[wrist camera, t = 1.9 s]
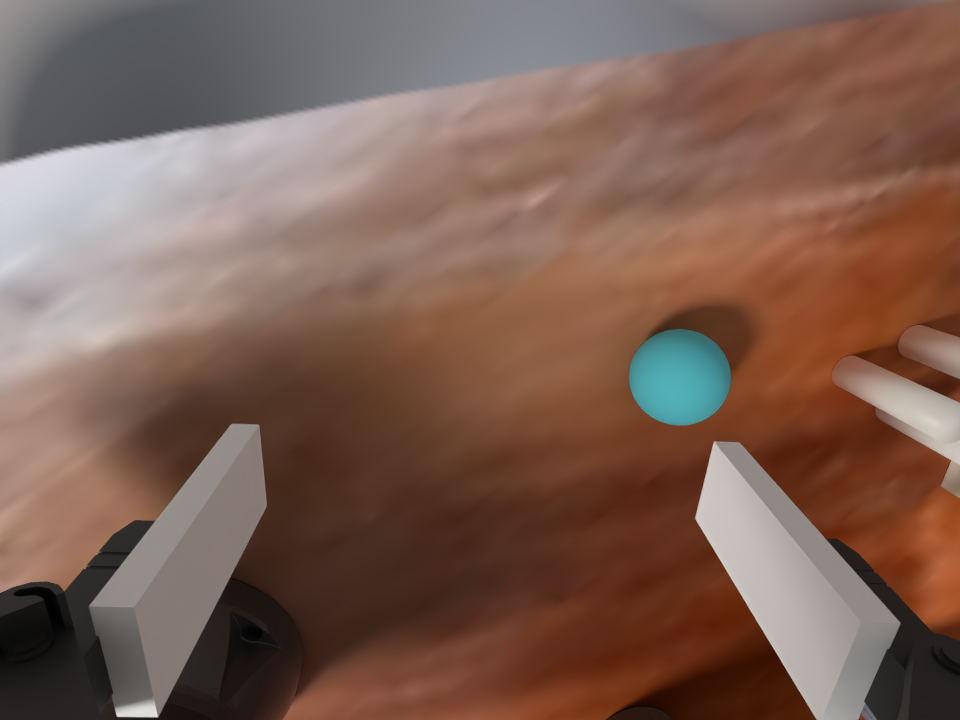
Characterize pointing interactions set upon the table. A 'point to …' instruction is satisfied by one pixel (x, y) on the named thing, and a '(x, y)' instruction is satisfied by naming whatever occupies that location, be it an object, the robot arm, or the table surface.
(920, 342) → the pin
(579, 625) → the table surface
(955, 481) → the back wall
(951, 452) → the pin
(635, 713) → the plant pot
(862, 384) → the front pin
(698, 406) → the ball
